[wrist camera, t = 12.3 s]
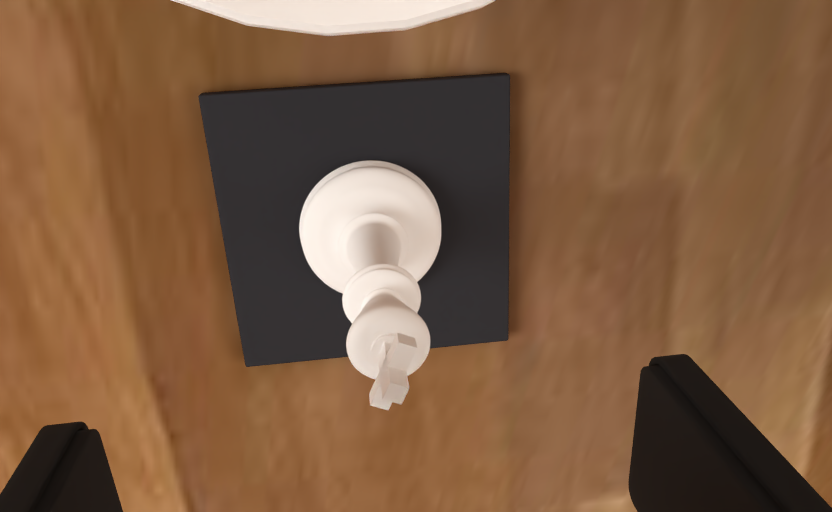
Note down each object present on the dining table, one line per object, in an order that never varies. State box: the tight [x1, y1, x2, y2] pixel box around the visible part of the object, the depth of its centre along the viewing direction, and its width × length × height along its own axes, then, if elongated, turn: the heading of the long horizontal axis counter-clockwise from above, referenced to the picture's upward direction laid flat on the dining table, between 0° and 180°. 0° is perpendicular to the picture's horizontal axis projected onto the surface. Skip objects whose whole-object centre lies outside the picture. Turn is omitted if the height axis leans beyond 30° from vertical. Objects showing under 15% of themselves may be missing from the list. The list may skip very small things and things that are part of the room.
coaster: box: [199, 73, 510, 367], centre depth 23 cm, size 10×10×1 cm
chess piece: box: [299, 160, 441, 410], centre depth 18 cm, size 5×5×10 cm
